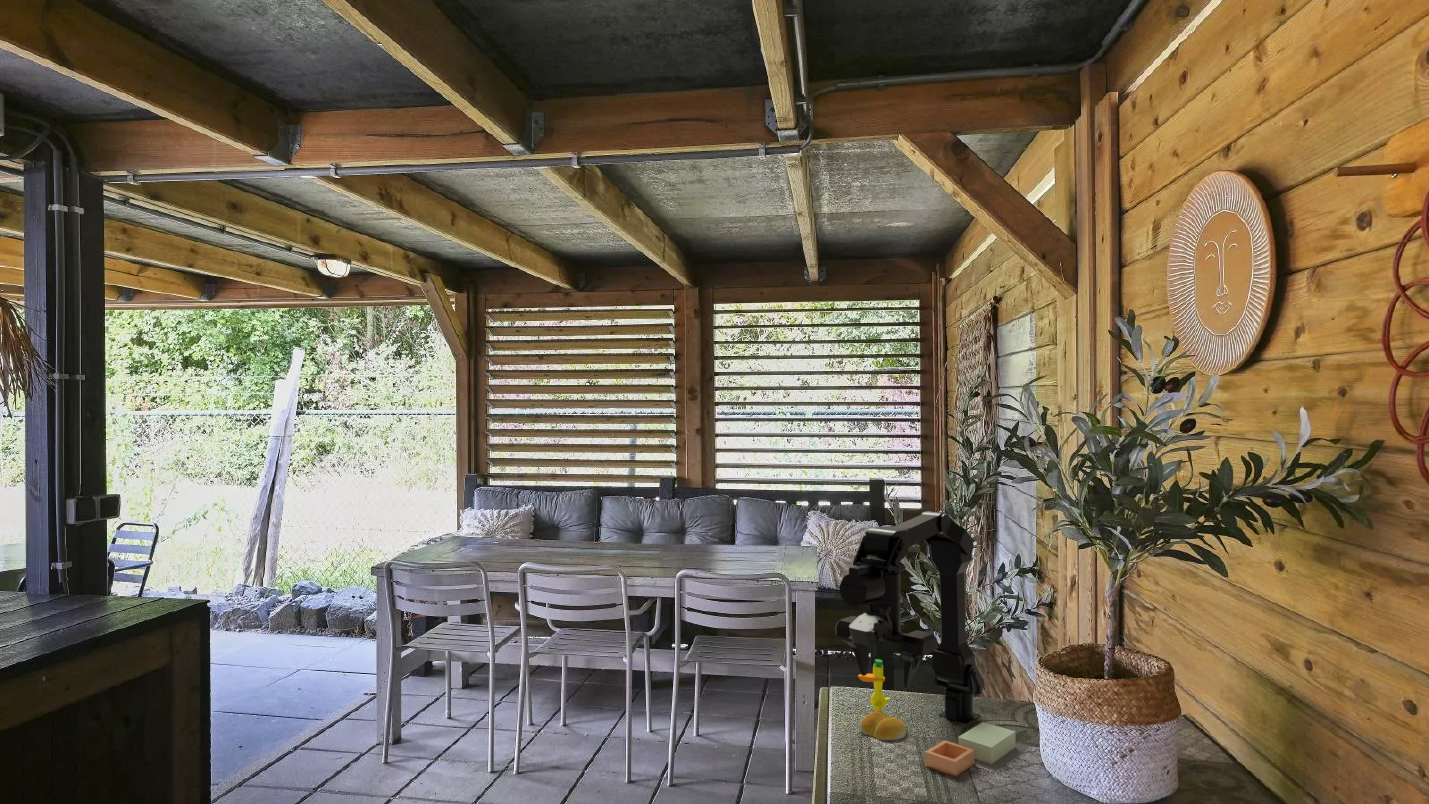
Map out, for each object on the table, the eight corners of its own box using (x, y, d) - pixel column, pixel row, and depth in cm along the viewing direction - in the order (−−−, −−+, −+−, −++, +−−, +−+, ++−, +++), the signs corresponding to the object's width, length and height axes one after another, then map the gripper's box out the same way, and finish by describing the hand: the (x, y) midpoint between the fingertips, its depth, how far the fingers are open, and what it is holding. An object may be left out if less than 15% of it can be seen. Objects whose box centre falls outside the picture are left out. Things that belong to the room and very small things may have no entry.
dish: (944, 756, 148) (944, 740, 148) (974, 766, 144) (974, 749, 144) (924, 768, 143) (924, 751, 143) (955, 779, 139) (955, 762, 139)
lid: (983, 737, 155) (983, 722, 155) (1015, 747, 151) (1015, 731, 151) (958, 753, 148) (958, 737, 148) (991, 764, 144) (991, 747, 144)
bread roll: (890, 747, 152) (890, 726, 153) (854, 733, 159) (853, 713, 159) (915, 735, 158) (915, 715, 158) (879, 722, 165) (879, 703, 165)
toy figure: (858, 718, 166) (857, 661, 166) (858, 712, 170) (858, 656, 170) (890, 721, 165) (890, 663, 165) (891, 715, 168) (890, 658, 168)
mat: (979, 734, 158) (979, 731, 158) (1029, 749, 151) (1029, 746, 151) (944, 756, 148) (944, 753, 148) (995, 773, 141) (995, 770, 141)
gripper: (817, 595, 148) (818, 679, 147) (905, 614, 134) (905, 706, 134) (852, 586, 155) (852, 665, 155) (938, 602, 142) (939, 689, 142)
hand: (885, 681), depth 147 cm, fingers open, 9 cm apart
